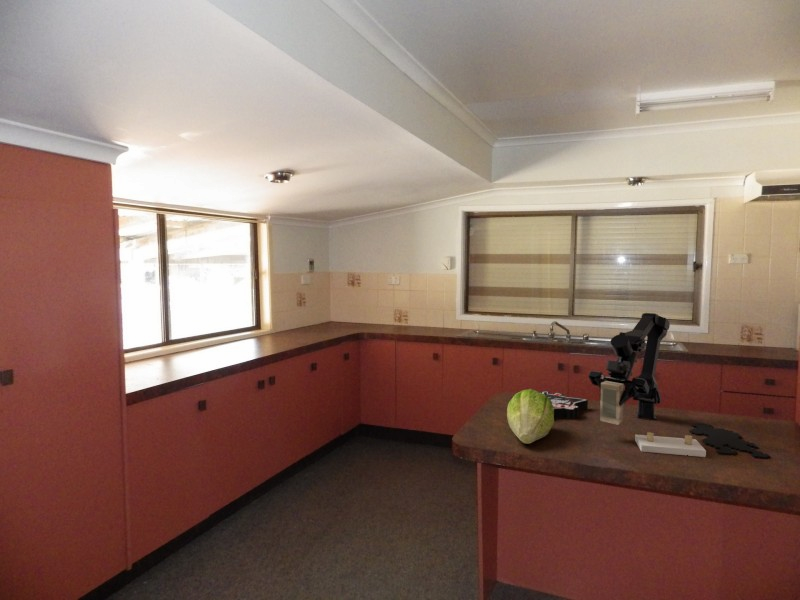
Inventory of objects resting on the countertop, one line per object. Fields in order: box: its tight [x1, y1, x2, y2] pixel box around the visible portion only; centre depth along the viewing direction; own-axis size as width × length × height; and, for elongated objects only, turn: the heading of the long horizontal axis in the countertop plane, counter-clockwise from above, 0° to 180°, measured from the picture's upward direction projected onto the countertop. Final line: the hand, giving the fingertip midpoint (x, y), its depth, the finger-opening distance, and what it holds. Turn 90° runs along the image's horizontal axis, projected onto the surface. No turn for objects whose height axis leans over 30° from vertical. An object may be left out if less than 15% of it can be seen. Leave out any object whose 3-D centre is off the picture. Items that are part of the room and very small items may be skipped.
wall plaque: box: [518, 390, 589, 420], centre depth 199 cm, size 28×4×30 cm
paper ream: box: [599, 381, 625, 426], centre depth 166 cm, size 4×6×13 cm
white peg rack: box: [634, 431, 707, 458], centre depth 158 cm, size 10×18×4 cm, turn 75°
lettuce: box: [506, 388, 555, 445], centre depth 170 cm, size 15×24×16 cm
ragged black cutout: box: [688, 422, 771, 460], centre depth 166 cm, size 16×1×30 cm
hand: (610, 403), depth 165 cm, fingers closed on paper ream, 6 cm apart
